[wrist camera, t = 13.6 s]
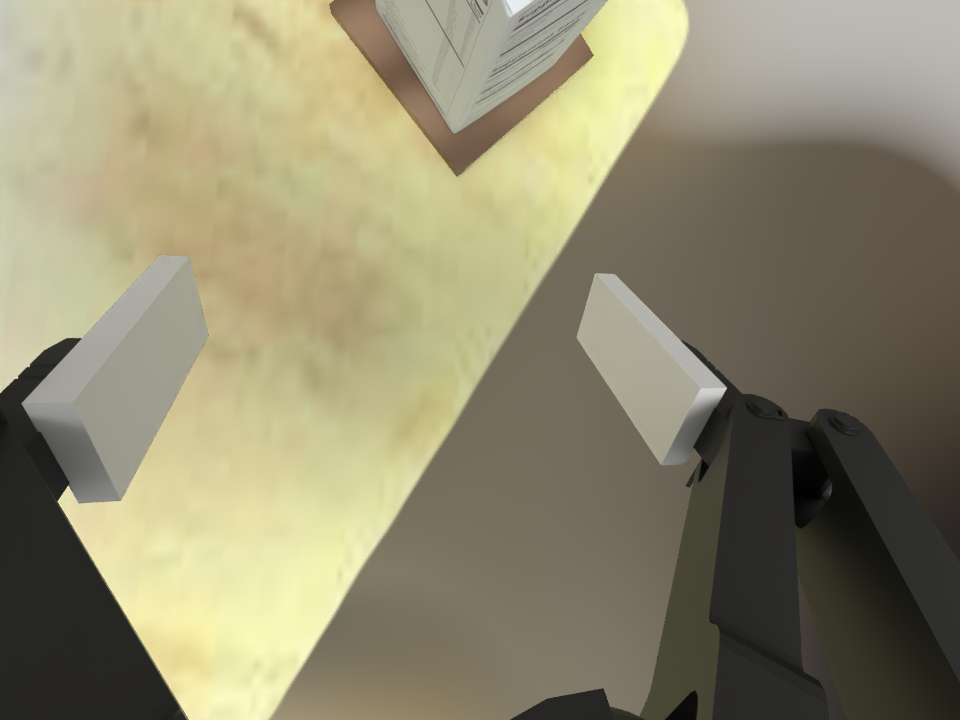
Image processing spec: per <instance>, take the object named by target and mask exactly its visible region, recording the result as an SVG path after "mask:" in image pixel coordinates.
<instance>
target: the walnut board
mask: <svg viewBox="0 0 960 720" xmlns="http://www.w3.org/2000/svg"><path fill="white" fill-rule="evenodd" d="M329 5H330V9H331V13H332V15H333V16H334V18H335V19H336V20H337V21H338V23H339V24H340V25H341V27H342V28H343V29H344V31H345V32H346V33H347V34H348V36H349V37H350V38H351V40H352V41H353V42H354V44H355V45H356V46H357V47H358V49H359V50H360V51H361V53H362V54H363V55H364V56H365V58H366V59H367V60H368V62H369V63H370V64H371V66H372V67H373V68H374V69H375V71H376V72H377V73H378V75H379V76H380V77H381V79H382V80H383V81H384V82H385V84H386V85H387V86H388V88H389V89H390V90H391V91H392V93H393V94H394V95H395V97H396V98H397V99H398V101H399V102H400V103H401V104H402V106H403V107H404V108H405V110H406V111H407V112H408V114H409V115H410V116H411V117H412V119H413V120H414V121H415V123H416V124H417V125H418V127H419V128H420V129H421V130H422V132H423V133H424V134H425V136H426V137H427V138H428V139H429V141H430V142H431V143H432V145H433V146H434V147H435V149H436V150H437V151H438V152H439V154H440V155H441V156H442V158H443V159H444V160H445V162H446V163H447V164H448V165H449V167H450V168H451V169H452V171H453V172H454V173H455V174H456V176H458V175H459V174H460V173H461V172H463V171H464V170H465V169H466V168H467V167H468V166H469V165H470V164H472V163H473V162H474V161H475V160H476V159H477V158H478V157H480V156H481V155H482V154H483V153H484V152H485V151H486V150H488V149H489V148H490V147H491V146H492V145H493V144H494V143H496V142H497V141H498V140H499V139H500V138H501V137H502V136H503V135H505V134H506V133H507V132H508V131H509V130H510V129H511V128H513V127H514V126H515V125H516V124H517V123H518V122H519V121H521V120H522V119H523V118H524V117H525V116H526V115H527V114H528V113H530V112H531V111H532V110H533V109H534V108H535V107H536V106H538V105H539V104H540V103H541V102H542V101H543V100H544V99H546V98H547V97H548V96H549V95H550V94H551V93H552V92H553V91H555V90H556V89H557V88H558V87H559V86H560V85H561V84H563V83H564V82H565V81H566V80H567V79H568V78H569V77H571V76H572V75H573V74H574V73H575V72H576V71H577V70H579V69H580V68H581V67H582V66H583V65H584V64H585V63H586V62H588V61H589V60H590V59H591V58H592V57H593V56H594V55H593V53H592V52H591V50H590V48H589V47H588V45H587V44H586V42H585V40H584V39H583V37H582V35H581V34H579V35H578V37H577V38H576V39H575V40H574V41H573V43H572V44H571V45H570V46H569V47H568V49H567V50H566V51H565V52H564V53H563V54H562V56H561V57H560V58H559V59H558V61H557V62H556V63H555V64H554V65H553V66H552V67H551V68H550V69H548V70H547V71H546V72H544V73H543V74H542V75H540V76H539V77H538V78H536V79H535V80H533V81H532V82H531V83H529V84H528V85H526V86H525V87H524V88H522V89H521V90H519V91H518V92H517V93H515V94H514V95H512V96H511V97H509V98H508V99H506V100H505V101H504V102H502V103H501V104H499V105H498V106H496V107H495V108H493V109H492V110H491V111H489V112H488V113H486V114H485V115H483V116H482V117H480V118H479V119H477V120H476V121H474V122H473V123H471V124H470V125H468V126H467V127H465V128H464V129H462V130H461V131H459V132H457V133H455V134H454V133H452V131H451V130H450V128H449V127H448V125H447V124H446V122H445V120H444V119H443V117H442V116H441V114H440V112H439V111H438V109H437V107H436V106H435V104H434V103H433V101H432V99H431V98H430V96H429V94H428V93H427V91H426V90H425V88H424V86H423V85H422V83H421V81H420V80H419V78H418V77H417V75H416V73H415V72H414V70H413V69H412V67H411V65H410V64H409V62H408V61H407V59H406V57H405V56H404V54H403V53H402V51H401V49H400V48H399V46H398V45H397V43H396V41H395V40H394V38H393V36H392V35H391V33H390V32H389V30H388V28H387V27H386V25H385V23H384V22H383V20H382V18H381V17H380V15H379V13H378V11H377V9H376V3H375V0H334V1H333V2H332V3H331V4H329Z"/></svg>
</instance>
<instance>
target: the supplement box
mask: <svg viewBox="0 0 960 720" xmlns="http://www.w3.org/2000/svg"><path fill="white" fill-rule="evenodd" d="M607 1H608V0H375V3H376V9H377V11H378V13H379V15H380V17H381V18H382V20H383V22H384V23H385V25H386V27H387V28H388V30H389V32H390V33H391V35H392V36H393V38H394V40H395V41H396V43H397V45H398V46H399V48H400V49H401V51H402V53H403V54H404V56H405V57H406V59H407V61H408V62H409V64H410V65H411V67H412V69H413V70H414V72H415V73H416V75H417V77H418V78H419V80H420V81H421V83H422V85H423V86H424V88H425V90H426V91H427V93H428V94H429V96H430V98H431V99H432V101H433V103H434V104H435V106H436V107H437V109H438V111H439V112H440V114H441V116H442V117H443V119H444V120H445V122H446V124H447V125H448V127H449V128H450V130H451V131H452V133H454V134H455V133H457V132H459V131H461V130H462V129H464V128H465V127H467V126H468V125H470V124H471V123H473V122H474V121H476V120H477V119H479V118H480V117H482V116H483V115H485V114H486V113H488V112H489V111H491V110H492V109H493V108H495V107H496V106H498V105H499V104H501V103H502V102H504V101H505V100H506V99H508V98H509V97H511V96H512V95H514V94H515V93H517V92H518V91H519V90H521V89H522V88H524V87H525V86H526V85H528V84H529V83H531V82H532V81H533V80H535V79H536V78H538V77H539V76H540V75H542V74H543V73H544V72H546V71H547V70H548V69H550V68H551V67H552V66H553V65H554V64H555V63H556V62H557V61H558V59H559V58H560V57H561V56H562V54H563V53H564V52H565V51H566V50H567V49H568V47H569V46H570V45H571V44H572V43H573V41H574V40H575V39H576V38H577V37H578V35H579V34H580V33H581V32H582V31H583V29H584V28H585V27H586V26H587V25H588V23H589V22H590V21H591V20H592V19H593V17H594V16H595V15H596V14H597V13H598V11H599V10H600V9H601V8H602V7H603V6H604V4H605V3H606V2H607Z"/></svg>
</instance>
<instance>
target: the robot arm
mask: <svg viewBox="0 0 960 720" xmlns="http://www.w3.org/2000/svg"><path fill="white" fill-rule="evenodd" d="M207 337H208V331H207V327H206V322H205V318H204V314H203V310H202V306H201V302H200V298H199V294H198V290H197V286H196V281H195V277H194V273H193V269H192V265H191V261H190V257H189V256H170V255H160V256H159V257H158V258H157V259H156V260H155V261H154V262H153V263H152V264H151V265H150V266H149V267H148V268H147V270H146V271H145V272H144V273H143V274H142V275H141V276H140V277H139V278H138V279H137V280H136V281H135V282H134V283H133V285H132V286H131V287H130V288H129V289H128V290H127V291H126V292H125V293H124V294H123V295H122V296H121V297H120V298H119V300H118V301H117V302H116V303H115V304H114V305H113V306H112V307H111V308H110V309H109V310H108V311H107V312H106V313H105V315H104V316H103V317H102V318H101V319H100V320H99V321H98V322H97V323H96V324H95V325H94V326H93V327H92V328H91V330H90V331H89V332H88V333H87V334H86V335H85V336H84V337H83V338H66V339H65V340H63V341H61V342H59V343H57V344H55V345H53V346H51V347H50V348H48V349H46V350H44V351H43V352H42V353H41V354H40V355H39V356H38V357H37V358H36V359H35V360H34V361H33V362H32V363H31V364H30V367H27V368H26V369H25V370H24V371H23V372H22V373H21V374H20V375H19V376H18V379H15V380H14V381H13V382H12V383H11V384H10V385H8V386H7V387H6V388H5V389H4V390H3V391H2V392H1V393H0V720H189V719H188V718H187V716H186V714H185V713H184V711H183V709H182V708H181V706H180V704H179V703H178V701H177V699H176V698H175V696H174V695H173V693H172V691H171V690H170V688H169V686H168V685H167V683H166V681H165V680H164V678H163V676H162V675H161V673H160V671H159V670H158V668H157V666H156V665H155V663H154V661H153V660H152V658H151V656H150V655H149V653H148V651H147V650H146V648H145V646H144V645H143V643H142V641H141V640H140V638H139V636H138V635H137V633H136V631H135V630H134V628H133V626H132V625H131V623H130V621H129V620H128V618H127V616H126V615H125V613H124V611H123V610H122V608H121V606H120V605H119V603H118V601H117V600H116V598H115V596H114V595H113V593H112V591H111V590H110V588H109V587H108V585H107V583H106V582H105V580H104V578H103V577H102V575H101V573H100V572H99V570H98V568H97V567H96V565H95V563H94V562H93V560H92V558H91V557H90V555H89V553H88V552H87V550H86V548H85V547H84V545H83V543H82V542H81V540H80V538H79V537H78V535H77V533H76V532H75V530H74V528H73V527H72V525H71V523H70V522H69V520H68V518H67V517H66V515H65V513H64V512H63V510H62V508H61V507H60V505H59V504H58V502H57V501H58V500H59V498H60V497H61V495H62V494H63V492H64V491H65V489H66V488H67V486H68V485H69V487H70V489H71V490H72V492H73V494H74V496H75V497H76V499H77V501H78V503H91V502H107V501H121V499H122V497H123V496H124V494H125V492H126V490H127V488H128V486H129V484H130V482H131V481H132V479H133V477H134V475H135V473H136V471H137V469H138V467H139V465H140V464H141V462H142V460H143V458H144V456H145V454H146V452H147V450H148V449H149V447H150V445H151V443H152V441H153V439H154V437H155V435H156V433H157V432H158V430H159V428H160V426H161V424H162V422H163V420H164V418H165V416H166V415H167V413H168V411H169V409H170V407H171V405H172V403H173V401H174V400H175V398H176V396H177V394H178V392H179V390H180V388H181V386H182V384H183V383H184V381H185V379H186V377H187V375H188V373H189V371H190V369H191V368H192V366H193V364H194V362H195V360H196V358H197V356H198V354H199V352H200V351H201V349H202V347H203V345H204V343H205V341H206V339H207ZM577 339H578V341H579V342H580V344H581V345H582V347H583V348H584V350H585V351H586V353H587V354H588V356H589V357H590V359H591V360H592V362H593V363H594V365H595V366H596V368H597V369H598V371H599V372H600V374H601V375H602V377H603V378H604V380H605V381H606V383H607V384H608V386H609V387H610V389H611V390H612V392H613V393H614V395H615V396H616V398H617V399H618V401H619V402H620V404H621V405H622V407H623V408H624V410H625V411H626V413H627V414H628V416H629V417H630V419H631V420H632V422H633V423H634V425H635V426H636V428H637V429H638V431H639V433H640V434H641V435H642V437H643V438H644V440H645V442H646V443H647V445H648V446H649V448H650V449H651V451H652V452H653V454H654V455H655V457H656V458H657V459H658V461H659V463H660V464H661V465H672V464H685V463H686V461H687V459H688V457H689V456H690V454H691V452H692V450H693V448H695V450H696V451H697V452H698V454H699V455H700V456H701V460H700V462H699V464H698V465H697V467H696V469H695V470H694V472H693V474H692V476H691V477H690V479H689V481H688V483H687V484H686V486H687V487H690V486H691V485H692V484H693V486H692V490H691V495H690V501H689V506H688V510H687V515H686V520H685V525H684V530H683V534H682V539H681V544H680V549H679V554H678V559H677V564H676V569H675V573H674V578H673V583H672V588H671V593H670V598H669V603H668V608H667V613H666V617H665V623H664V628H663V633H662V637H661V642H660V647H659V652H658V657H657V662H656V666H655V672H654V676H653V681H652V685H651V689H650V693H649V695H648V698H647V701H646V703H645V705H644V707H643V710H642V712H641V714H640V717H639V716H637V715H635V714H632V713H630V712H627V711H624V710H621V709H618V708H614V707H610V706H609V703H608V700H607V697H606V694H605V692H604V689H598V690H592V691H587V692H581V693H576V694H570V695H565V696H559V697H554V698H549V699H546V700H544V701H542V702H540V703H539V704H537V705H535V706H533V707H532V708H530V709H528V710H527V711H525V712H523V713H521V714H519V715H518V716H516V717H514V718H512V719H511V720H829V714H828V704H827V699H826V695H825V690H824V688H823V687H822V685H821V683H820V682H819V680H817V679H815V678H813V677H812V676H810V675H808V674H806V673H805V672H804V671H803V666H802V656H801V636H800V616H799V597H798V578H797V573H798V576H799V578H800V582H801V584H802V588H803V591H804V593H805V597H806V600H807V602H808V605H809V608H810V611H811V614H812V617H813V620H814V623H815V626H816V629H817V632H818V635H819V638H820V641H821V644H822V647H823V650H824V653H825V656H826V659H827V662H828V665H829V668H830V671H831V674H832V677H833V680H834V683H835V686H836V689H837V691H838V695H839V698H840V701H841V704H842V706H843V710H844V712H845V716H846V719H847V720H960V563H959V562H958V560H957V558H956V557H955V555H954V554H953V552H952V551H951V549H950V548H949V546H948V545H947V543H946V542H945V540H944V539H943V537H942V536H941V535H940V533H939V531H938V530H937V529H936V527H935V526H934V524H933V523H932V521H931V520H930V518H929V517H928V515H927V514H926V512H925V511H924V509H923V508H922V506H921V505H920V503H919V502H918V500H917V499H916V497H915V496H914V494H913V493H912V491H911V490H910V488H909V487H908V485H907V484H906V482H905V481H904V479H903V478H902V476H901V475H900V473H899V472H898V470H897V469H896V467H895V466H894V464H893V463H892V461H891V460H890V458H889V457H888V456H887V454H886V453H885V451H884V450H883V448H882V447H881V445H880V444H879V442H878V440H877V439H876V438H875V436H874V435H873V433H872V432H871V431H870V430H869V429H868V427H867V426H865V425H864V424H863V423H861V422H860V421H859V420H858V419H857V418H855V417H853V416H850V415H849V414H847V413H844V412H839V411H836V410H832V409H820V410H818V412H817V413H816V414H815V415H814V417H813V418H812V420H811V421H810V422H807V421H802V420H796V419H791V418H789V417H788V415H787V414H786V412H785V411H784V410H783V409H782V408H781V407H779V406H778V405H776V404H775V403H773V402H772V401H770V400H768V399H765V398H763V397H760V396H757V395H753V394H742V393H741V392H740V391H739V390H738V389H737V388H736V387H735V386H734V385H733V384H732V383H731V382H730V381H729V380H727V379H726V377H725V376H724V375H723V374H722V373H721V372H720V371H719V370H716V369H715V367H714V366H713V365H712V364H711V363H710V362H709V361H707V359H706V358H705V357H704V356H703V355H702V354H701V353H700V352H699V351H698V350H697V349H696V348H694V347H692V346H690V345H689V344H688V343H686V342H684V341H683V340H679V339H678V338H677V337H676V336H675V335H674V334H673V333H672V332H671V331H670V330H669V329H668V328H667V327H666V326H665V325H664V324H663V323H662V322H661V321H660V320H659V319H658V318H657V317H656V316H655V315H654V314H653V313H652V311H651V310H649V309H648V307H646V306H645V304H644V303H643V302H642V301H641V300H639V298H638V297H637V296H636V295H635V294H634V293H633V292H632V291H631V290H630V289H629V288H628V287H627V286H626V285H625V284H624V283H623V282H622V281H621V280H620V279H619V278H618V277H617V276H616V275H615V274H597V273H596V274H595V276H594V280H593V283H592V287H591V290H590V294H589V297H588V300H587V304H586V307H585V311H584V314H583V317H582V321H581V324H580V328H579V331H578V335H577ZM831 490H832V493H831V496H829V492H830V491H831Z"/></svg>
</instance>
